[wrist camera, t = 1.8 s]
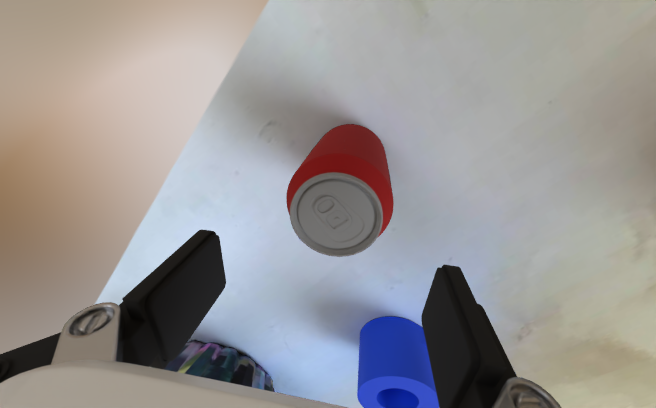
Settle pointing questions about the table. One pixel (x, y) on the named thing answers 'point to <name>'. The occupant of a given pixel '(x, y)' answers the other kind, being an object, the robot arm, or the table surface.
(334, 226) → the beverage can
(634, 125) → the table surface
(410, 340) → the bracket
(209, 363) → the decorative bowl
